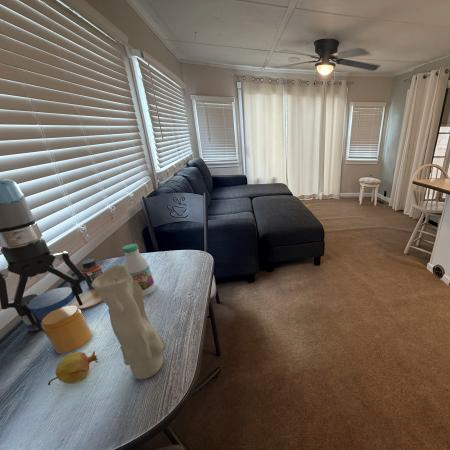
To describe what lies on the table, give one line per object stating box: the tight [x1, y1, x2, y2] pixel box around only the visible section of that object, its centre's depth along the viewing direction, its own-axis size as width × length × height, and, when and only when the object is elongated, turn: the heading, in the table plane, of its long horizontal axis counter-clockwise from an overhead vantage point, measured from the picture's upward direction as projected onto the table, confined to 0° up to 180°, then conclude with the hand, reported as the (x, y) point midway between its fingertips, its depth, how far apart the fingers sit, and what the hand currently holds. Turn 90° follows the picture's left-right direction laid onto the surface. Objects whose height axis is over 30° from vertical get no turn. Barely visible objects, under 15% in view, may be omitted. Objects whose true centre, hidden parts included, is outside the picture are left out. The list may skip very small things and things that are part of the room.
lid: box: [27, 286, 76, 314], centre depth 67 cm, size 9×9×2 cm
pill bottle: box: [19, 293, 52, 333], centre depth 77 cm, size 6×6×11 cm
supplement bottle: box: [80, 258, 104, 289], centre depth 98 cm, size 6×6×11 cm
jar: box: [42, 305, 93, 354], centre depth 71 cm, size 8×8×10 cm
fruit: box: [47, 351, 99, 386], centre depth 61 cm, size 7×7×10 cm
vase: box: [92, 264, 167, 380], centre depth 58 cm, size 9×8×30 cm
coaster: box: [70, 288, 104, 311], centre depth 91 cm, size 12×12×1 cm
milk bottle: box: [122, 243, 156, 297], centre depth 91 cm, size 8×8×20 cm
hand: (58, 312), depth 68 cm, fingers closed on lid, 9 cm apart
